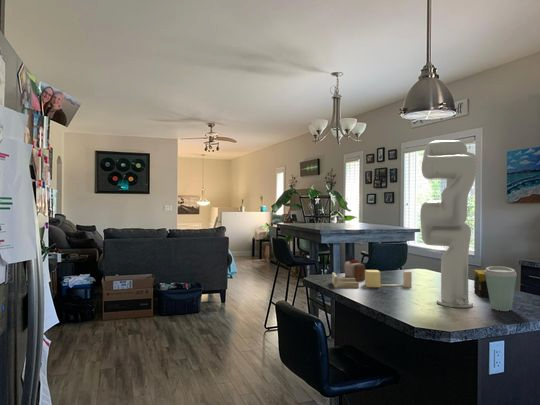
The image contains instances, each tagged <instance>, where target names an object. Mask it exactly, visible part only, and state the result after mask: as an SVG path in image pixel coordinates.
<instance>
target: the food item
mask: <svg viewBox="0 0 540 405" xmlns="http://www.w3.org/2000/svg"><path fill="white" fill-rule="evenodd" d="M343 268H344V278H355V282H360V281H361V282H365V270H366V265H365V264H362V263H360V262H359V260H358V259H351V260H349V261H345V262H344V267H343Z"/></svg>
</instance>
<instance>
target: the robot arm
mask: <svg viewBox="0 0 540 405" xmlns="http://www.w3.org/2000/svg"><path fill="white" fill-rule="evenodd" d="M421 161H422V162H421V174H422V176H423V177H424V178H425V179H426V180H429V181H430V180H431V181H432V180H445V182H446V183H445V188H444V189H443V190H442V192H441V194H440V195H441V197H440V198H441V200H428V201H425V202H423V203H422V204H421V208H420V214H419V216H420V218H419V219H420V232H421V240H422V242H423V243H424V244H425V245H427V246H434V247H435V246H437V247H439V246H440V247H448V248H447V249H446V250H445V251H444V252H443V254H442V255H441V257H440V258H441V259H440V297H438V298H436V303H437V304H439V305H441V306H444V307H450V308H458V309H459V308H461V309H464V308H465V309H467V308H472V307H473V306H474V303H473V301H472V300H469V254H470V253H469V251H470V245H471V238H472V229H471V227H470V225H469V224H468V223H466V221H467V217H468V197H469V193H470V192H471V190H472V187H473V186H474V182H475V179H476V176H477V174H478V170H479V158H478V156H477V155H476V154H475V153H472V152H470V151H468V146H467V144H465V143H464V141H461V140H457V139H456V140H455V139H451V140H434V141H430V142H428V144H426V146H425V148H424V150H423V157H422V160H421Z"/></svg>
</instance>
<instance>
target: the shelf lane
mask: <svg viewBox="0 0 540 405" xmlns="http://www.w3.org/2000/svg"><path fill="white" fill-rule="evenodd" d="M331 273H332V274H331V276H332V277H331V279H332V280H331V281H332V285H333V287H334V288H335V289H336V288H337V289H339V288H341V289H345V288H346V289H359V287H360V284H359V283H360V281H355V278H348V277H338V275H337V274H336V272H331Z"/></svg>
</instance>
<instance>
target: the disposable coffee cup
mask: <svg viewBox="0 0 540 405" xmlns="http://www.w3.org/2000/svg"><path fill="white" fill-rule="evenodd" d="M484 270H485V271H484V274H485V276H486V282H487V287H488V293H489V302H490V303H489V304H490V307H491V309H492V310H494V309H495V310H494V311H499V310H500V311H501V312H509V310H510V311H512V308H513V302H514V296H515V288H516V283H517V282H516V281H517V276H518V275H517V272H516V271H515V270H516V269H513V268H511V267H507V266H495V265H493V266H492V265H491V266H486V267H485V269H484ZM500 311H499V312H500Z"/></svg>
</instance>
